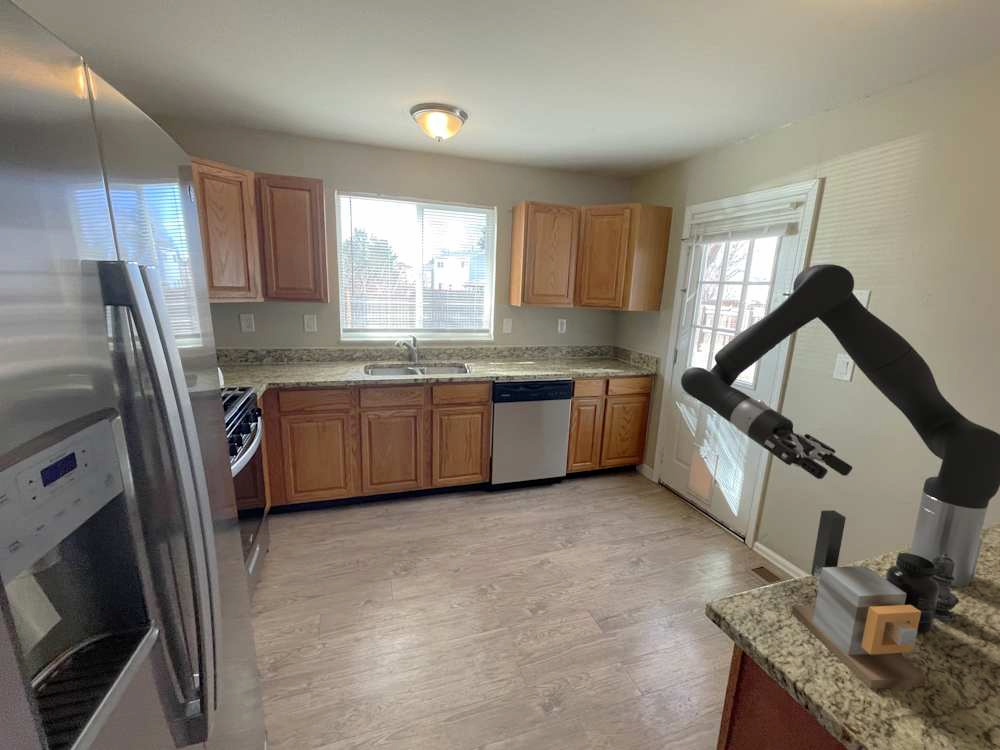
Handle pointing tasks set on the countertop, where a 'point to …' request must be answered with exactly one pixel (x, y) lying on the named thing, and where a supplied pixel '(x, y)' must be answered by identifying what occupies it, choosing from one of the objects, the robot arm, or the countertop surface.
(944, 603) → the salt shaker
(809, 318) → the robot arm
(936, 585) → the supplement bottle
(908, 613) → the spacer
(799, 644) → the countertop surface
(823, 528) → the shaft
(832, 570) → the stand
